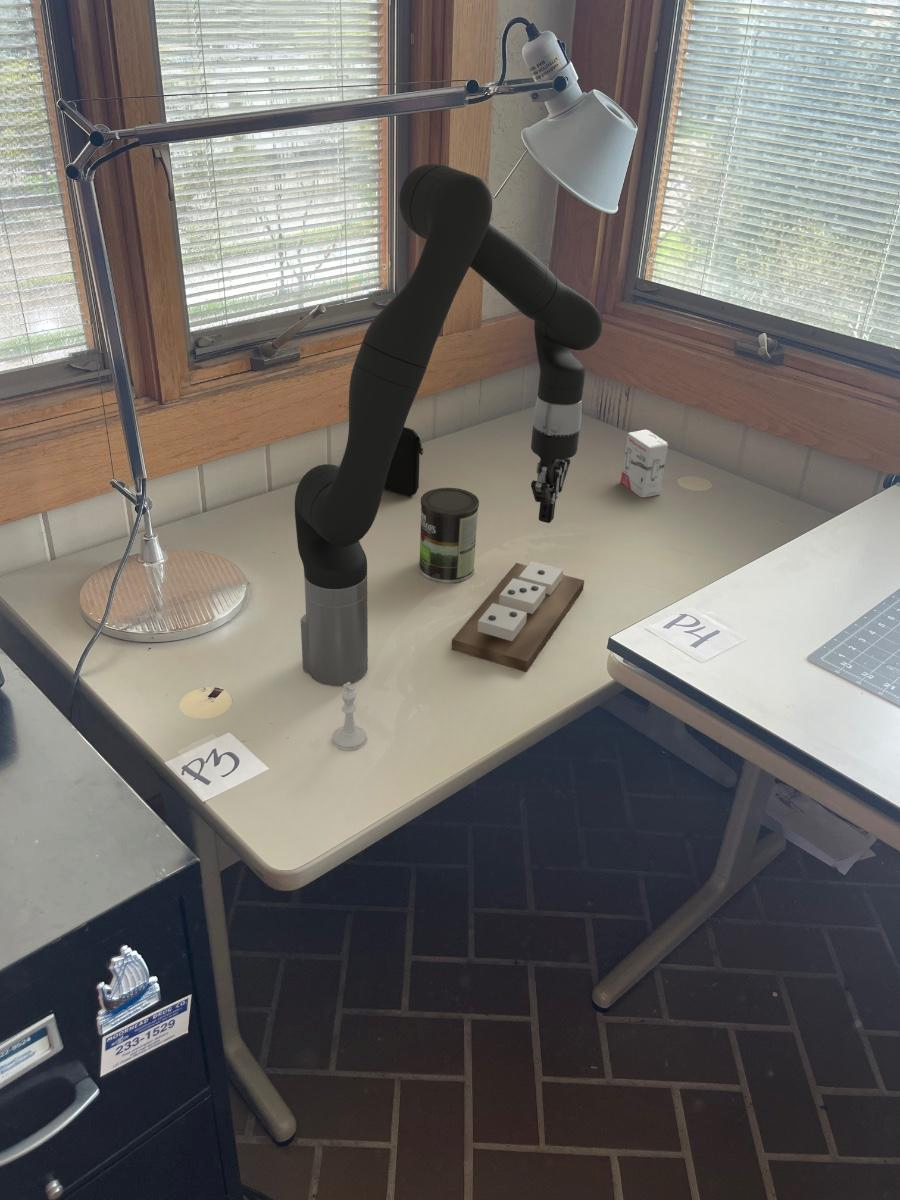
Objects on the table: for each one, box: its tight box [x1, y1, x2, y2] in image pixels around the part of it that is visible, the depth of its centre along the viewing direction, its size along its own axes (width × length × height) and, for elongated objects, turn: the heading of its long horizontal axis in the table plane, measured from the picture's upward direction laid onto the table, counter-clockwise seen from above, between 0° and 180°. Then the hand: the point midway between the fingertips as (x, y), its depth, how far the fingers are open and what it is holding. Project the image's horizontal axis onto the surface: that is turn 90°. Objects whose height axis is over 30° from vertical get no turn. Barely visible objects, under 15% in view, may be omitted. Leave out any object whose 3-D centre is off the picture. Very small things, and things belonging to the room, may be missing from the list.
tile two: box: [478, 603, 527, 641], centre depth 163 cm, size 6×6×2 cm
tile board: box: [451, 562, 585, 673], centre depth 172 cm, size 13×28×2 cm, turn 155°
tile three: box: [499, 578, 546, 614], centre depth 170 cm, size 6×6×2 cm
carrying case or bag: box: [384, 426, 424, 497], centre depth 207 cm, size 11×3×15 cm, turn 58°
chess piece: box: [331, 682, 368, 752], centre depth 141 cm, size 5×5×10 cm
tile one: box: [519, 560, 564, 595], centre depth 177 cm, size 6×6×2 cm
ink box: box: [620, 429, 669, 499], centre depth 214 cm, size 9×5×12 cm, turn 25°
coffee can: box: [418, 487, 480, 584], centre depth 182 cm, size 10×10×14 cm
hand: (545, 520), depth 171 cm, fingers closed
